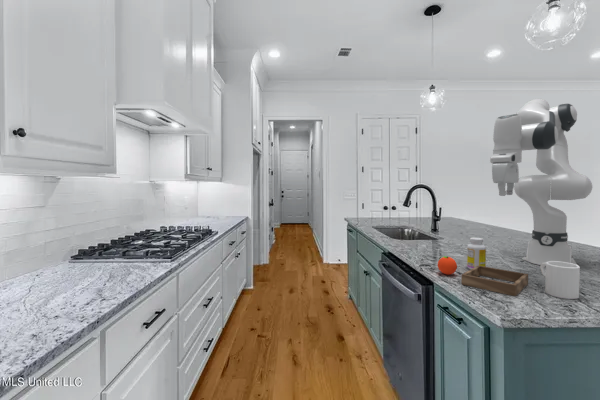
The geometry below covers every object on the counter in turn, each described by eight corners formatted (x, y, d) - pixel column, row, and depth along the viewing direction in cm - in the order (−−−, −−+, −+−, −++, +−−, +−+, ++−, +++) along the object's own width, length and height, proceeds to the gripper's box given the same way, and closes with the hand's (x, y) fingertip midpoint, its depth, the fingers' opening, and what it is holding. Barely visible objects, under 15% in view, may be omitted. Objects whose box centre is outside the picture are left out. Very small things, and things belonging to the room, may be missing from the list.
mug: (550, 285, 104) (551, 257, 103) (586, 298, 92) (587, 267, 91) (528, 286, 103) (529, 258, 103) (561, 299, 91) (562, 268, 91)
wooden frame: (477, 274, 118) (478, 265, 118) (528, 283, 106) (528, 274, 106) (461, 284, 106) (461, 274, 106) (515, 296, 95) (515, 285, 94)
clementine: (431, 272, 122) (431, 254, 121) (444, 270, 124) (445, 253, 124) (447, 277, 114) (447, 259, 114) (461, 275, 116) (461, 257, 116)
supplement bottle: (485, 268, 126) (486, 237, 125) (485, 272, 120) (486, 240, 120) (467, 266, 130) (468, 236, 129) (466, 269, 124) (466, 239, 123)
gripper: (504, 160, 121) (504, 194, 122) (488, 157, 107) (487, 196, 108) (523, 159, 116) (523, 194, 117) (509, 156, 103) (508, 196, 104)
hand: (506, 195), depth 113 cm, fingers open, 8 cm apart
